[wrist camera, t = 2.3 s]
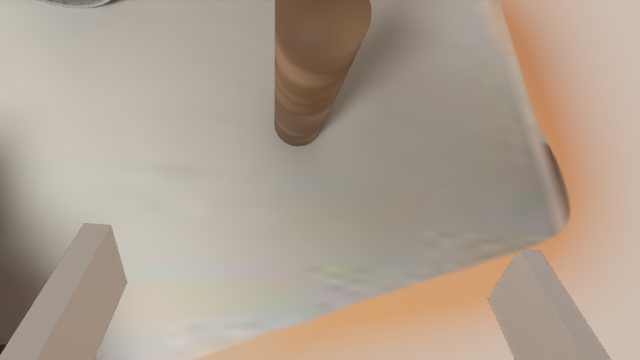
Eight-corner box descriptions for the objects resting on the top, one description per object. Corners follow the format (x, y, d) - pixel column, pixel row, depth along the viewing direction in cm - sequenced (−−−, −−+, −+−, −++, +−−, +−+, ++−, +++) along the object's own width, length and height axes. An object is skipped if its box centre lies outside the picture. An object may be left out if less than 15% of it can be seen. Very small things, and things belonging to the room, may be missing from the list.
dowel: (273, 144, 30) (271, 49, 14) (276, 99, 30) (278, -43, 14) (319, 147, 30) (369, 59, 14) (322, 103, 30) (373, -30, 15)
